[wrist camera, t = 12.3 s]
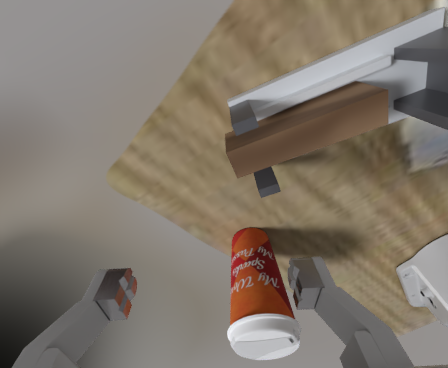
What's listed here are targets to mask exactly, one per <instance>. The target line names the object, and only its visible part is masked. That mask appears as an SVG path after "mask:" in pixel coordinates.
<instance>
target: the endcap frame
mask: <svg viewBox="0 0 448 368" xmlns="http://www.w3.org/2000/svg"><path fill="white" fill-rule="evenodd" d="M444 12H445V7H443V8H437V9H431V10H429V11H426V12H424V13H422V14H420V15H417V16H415V17H413V18H411V19H408V20H406V21H404V22H401V23H399V24H397V25H395V26H392V27H390V28H388V29H386V30H383V31H381V32H379V33H377V34H374V35H372V36H370V37H368V38H365V39H363V40H361V41H359V42H356V43H354V44H352V45H350V46H347V47H345V48H343V49H340V50H338V51H336V52H334V53H331V54H329V55H327V56H325V57H322V58H320V59H318V60H316V61H313V62H311V63H309V64H307V65H304V66H302V67H300V68H298V69H295V70H293V71H291V72H289V73H286V74H284V75H282V76H280V77H277V78H275V79H273V80H270V81H268V82H266V83H264V84H261V85H259V86H257V87H255V88H252V89H250V90H248V91H246V92H243V93H241V94H239V95H237V96H234V97H232V98H230V99H228V100H227V102H228V105H229V108H230V115H231V123H232V127H233V129H234V132H235V134H236V136H238V135H240V134H243V133H245V132H248V131H250V130H253V129H255V128H258V127H259V125H258V122H257V121H259V120H261V119H263V118H266V117H268V116H271V115H273V114H276V113H278V112H281V111H283V110H285V109H288V108H290V107H293V106H295V105H298V104H300V103H303V102H305V101H307V100H310V99H312V98H315V97H317V96H320V95H322V94H325V93H327V92H329V91H332V90H334V89H337V88H339V87H342V86H344V85H347V84H349V83H351V82H354V81H358V82H362V83H365V84H369V85H373V86H377V87H380V88H384V89H388V124H390V123H393V122H396V121H398V120H401V119H404V118H407V117H410V116H413V117H415V118H418V119H421V120H423V121H426V122H429V123H431V124H434V125H437V126H439V127H442V128H445V129H447V130H448V27H443V22H444ZM384 126H385V125H384ZM370 131H371V130H370ZM359 135H360V134H359ZM345 140H346V139H345ZM320 149H321V148H320ZM295 158H296V157H295ZM281 163H282V162H281ZM254 176H255V180H256V184H257V188H258V191H259V193H260V196H261V198H262V197H265V196H268V195H271V194H274V193H277V192H280V188H279V185H278V182H277V180H276V177H275V175H274V172H273V170H272V168H271V166H270V167H268V168H265V169H262V170H259V171H256V172H254Z"/></svg>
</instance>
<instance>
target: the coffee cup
mask: <svg viewBox="0 0 448 368" xmlns="http://www.w3.org/2000/svg"><path fill="white" fill-rule="evenodd" d="M231 264H232V265H231V317H230V319H231V321H230V327H229V329H228V332H227V334H228V339H229V341H231V343H230V344H231V347H232V348H233V349H234V351H235V352H236V353H237V354H238V355H240V356H242V357H245V358H249V359H254V360H270V359H277V358H281V357H284V356H287V355H289V354H291V353H293V352H294V351H296V350H297V349H298V347H299V345H300V338H299V335H300V332H301V326H300V324H299V323H298V322H297V321H296V320H295V318H294V315H293V311H292V308H291V305H290V302H289V299H288V296H287V293H286V290H285V287H284V284H283V280H282V277H281V274H280V271H279V268H278V265H277V262H276V259H275V256H274V253H273V250H272V247H271V244H270V241H269V239H268V236H267V234H266V233H265V232H264V231H263V230H261V229H258V228H245V229H242V230H240V231H238V232H237V233H236V234H235V235H234V237H233V240H232V261H231Z"/></svg>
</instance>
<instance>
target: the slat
mask: <svg viewBox="0 0 448 368" xmlns="http://www.w3.org/2000/svg"><path fill="white" fill-rule="evenodd" d="M257 122H258V125H259V127H258V128H255V129H253V130H250V131H248V132H245V133H243V134H240V135H238V136H236V134H235V132H234V131H232V132H229V133H227V134H225V141H226V154H227V156H228V158H229V160H230V163H231V165H232V167H233V169H234V172H235V174H236V176H237V178H240V177H243V176H245V175H248V174H251V173H254V172H256V171H259V170H262V169H265V168H268V167H270V166H273V165H276V164H279V163H281V162H284V161H287V160H290V159H293V158H295V157H298V156H301V155H304V154H307V153H309V152H312V151H315V150H318V149H320V148H323V147H326V146H329V145H332V144H334V143H337V142H340V141H343V140H345V139H348V138H351V137H354V136H357V135H359V134H362V133H365V132H368V131H370V130H373V129H376V128H379V127H382V126H384V125H387V124H388V89H384V88H380V87H377V86H373V85H369V84H365V83H362V82H358V81H354V82H351V83H349V84H347V85H344V86H342V87H339V88H337V89H334V90H332V91H329V92H327V93H325V94H322V95H320V96H317V97H315V98H312V99H310V100H307V101H305V102H303V103H300V104H298V105H295V106H293V107H290V108H288V109H285V110H283V111H281V112H278V113H276V114H273V115H271V116H268V117H266V118H263V119H261V120H259V121H257Z"/></svg>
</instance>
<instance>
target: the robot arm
mask: <svg viewBox="0 0 448 368" xmlns="http://www.w3.org/2000/svg"><path fill="white" fill-rule="evenodd" d="M289 264H290V267H289V268H288V281H289V285H290V288H291V289H293V290H294V293H293V298H294V301H295V305H296V307H297V310H300V309H301V310H302V309H315V311H316V312H317V313H318V315H319V316H320V317H321V318H322V319H323V320H324V321H325V322H326V324H327V325H328V326H329V327H330V328H331V329H332V330H333V331H334V332H335V334H336V335H337V336H338V337H339V338H340V339H341V340H342V341H343V343H344V344H345V345H346V348H345V349H344V351H343V353H342V354H341V356H340V360H341V363H342V365H343V368H448V365H435V366H416V367H414V365H413V364H412V362H411V360H410V359H409V357H408V356H407V354H406V352H405V351H404V349H403V347H402V346H401V344H400V342H399V341H398V339H397V337H396V336H395V334H394V332H393V331H392V329H391V328H390V327H389V326H387V325H386V324H385V323H384V322H383V321H381V320H380V319H379V318H378V317H376V316H375V315H374V314H373V313H371V312H370V311H369V310H368V309H366V308H365V307H364V306H363V305H361V304H360V303H359V302H358V301H356V300H355V299H354V298H353V297H352V296H350V295H349V294H348V293H347V292H345V291H344V290H343V289H342V288H340V287H336V285H335V283H334V281H333V279H332V277H331V275H330V273H329V270H328V268H327V266H326V264H325V262H324V260H323V258H321V257H303V258H291V259H290V261H289ZM396 271H397V274H398V277H399V279H400V282H401V284H402V287H403V290H404V292H405V295H406V298H407V300H408V302H409V303H410V304H411V305H412V306H415V307H428V309H429V310H430V311H431V312H432V314H433V315H434V316H435V317H436V318H437V320H438V321H439V322H440V323H441V324H442V325H444V326H446V327H448V235H445V236H443V237H441V238H439V239H437V240H435V241H433V242H431V243H430V244H428V245H427V246H425V247H424V248H423V249H421V250H420V251H419V252H418V253H417V254H416V255H415V256H414V257H413V258H411V259H410V260H408V261H406V262H405V263H403V264H401V265H400V266H398V267H397V269H396ZM136 289H137V281H136V279H135V277H134V276H132V270H131V268H121V269H100V270H98V272H97V273H96V274H95V276H94V278H93V280H92V282H91V283H90V285H89V287H88V289H87V291H86V293H85V295H84V297H83V299H82V301H81V302H77V303H76V304H75V305H74V306H73V307H71V308H70V309H69V310H68V311H67V312H66V313H65V314H63V315H62V316H61V317H60V318H59V319H58V320H56V321H55V322H54V323H53V324H52V325H51V326H49V327H48V328H47V329H46V330H45V331H44V332H42V334H40V335H39V336H38V337H37V338H36V339H34V340H33V341H32V342H31V343H30V344H29V345H27V346H26V347H25V348H24V349H23V351H22V352H21V354H20V356H19V357H18V359H17V360H16V362H15V364H14V365H13V367H12V368H81V367H80V366H79V365H78V364H76V362H77V361H78V359H79V358H80V357H81V356H82V355H83V353H84V352H85V351H86V350H87V349H88V348H89V346H90V345H91V344H92V343H93V341H94V340H95V339H96V338H97V337H98V335H99V334H100V333H101V332H102V331H103V329H104V328H105V327H106V326H107V324H108V323H109V322H110V321H112V320H124V319H127V318H128V315H129V312H130V308H131V306H132V305H131V302H130V300H131V299H132V298H133V297H134V296H135V293H136Z"/></svg>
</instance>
